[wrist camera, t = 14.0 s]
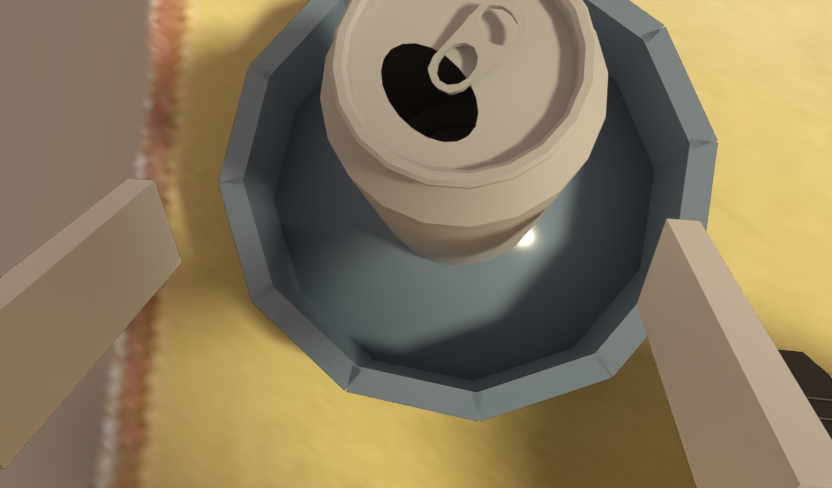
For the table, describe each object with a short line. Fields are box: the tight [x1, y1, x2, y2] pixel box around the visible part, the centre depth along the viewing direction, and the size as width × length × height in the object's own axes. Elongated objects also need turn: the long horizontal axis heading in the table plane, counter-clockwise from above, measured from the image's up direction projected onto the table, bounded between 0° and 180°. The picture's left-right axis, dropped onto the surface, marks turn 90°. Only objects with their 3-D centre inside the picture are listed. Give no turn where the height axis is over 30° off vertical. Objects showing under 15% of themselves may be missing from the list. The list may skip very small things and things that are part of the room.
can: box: [320, 0, 608, 266], centre depth 17 cm, size 8×8×12 cm
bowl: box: [219, 0, 718, 421], centre depth 22 cm, size 19×19×4 cm
